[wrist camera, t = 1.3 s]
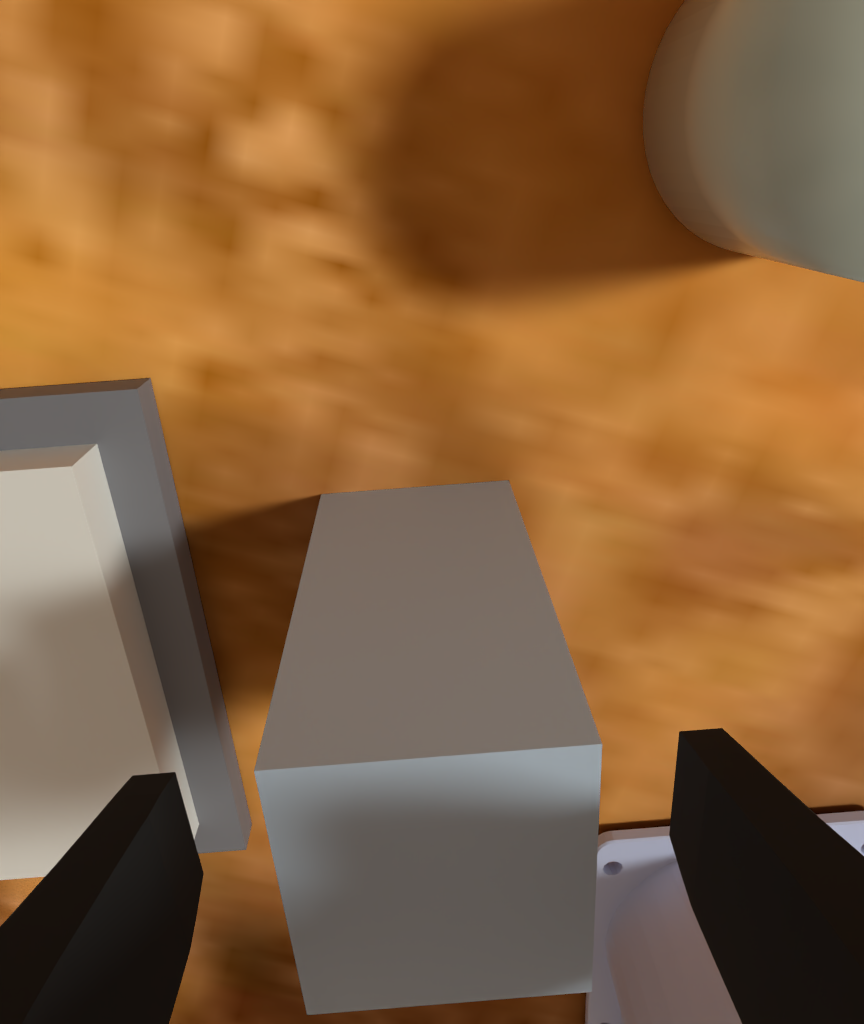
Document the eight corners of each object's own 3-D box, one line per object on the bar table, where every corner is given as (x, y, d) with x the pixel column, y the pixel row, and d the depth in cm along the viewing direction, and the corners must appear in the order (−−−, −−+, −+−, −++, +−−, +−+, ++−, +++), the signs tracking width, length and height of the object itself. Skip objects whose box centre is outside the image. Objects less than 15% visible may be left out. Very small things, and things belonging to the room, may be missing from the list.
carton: (512, 654, 18) (591, 991, 10) (345, 667, 18) (307, 1015, 10) (508, 480, 16) (602, 744, 8) (320, 494, 16) (254, 770, 8)
